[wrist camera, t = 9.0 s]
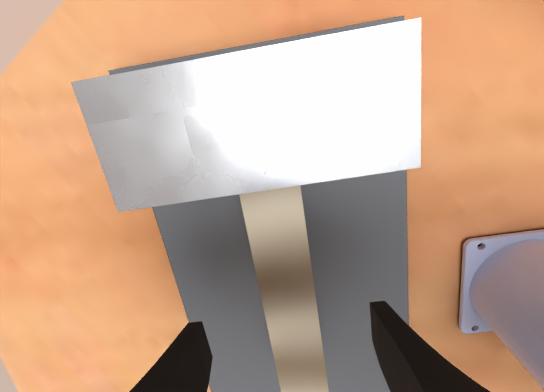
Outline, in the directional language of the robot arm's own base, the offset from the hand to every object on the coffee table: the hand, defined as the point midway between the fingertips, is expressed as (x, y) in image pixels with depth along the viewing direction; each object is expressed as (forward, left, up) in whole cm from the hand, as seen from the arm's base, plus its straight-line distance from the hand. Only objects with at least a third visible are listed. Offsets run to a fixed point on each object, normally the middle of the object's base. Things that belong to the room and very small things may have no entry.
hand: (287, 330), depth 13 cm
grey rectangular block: (0, -9, -8) cm, 11 cm away
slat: (0, 0, -8) cm, 8 cm away
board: (0, +2, -9) cm, 9 cm away
